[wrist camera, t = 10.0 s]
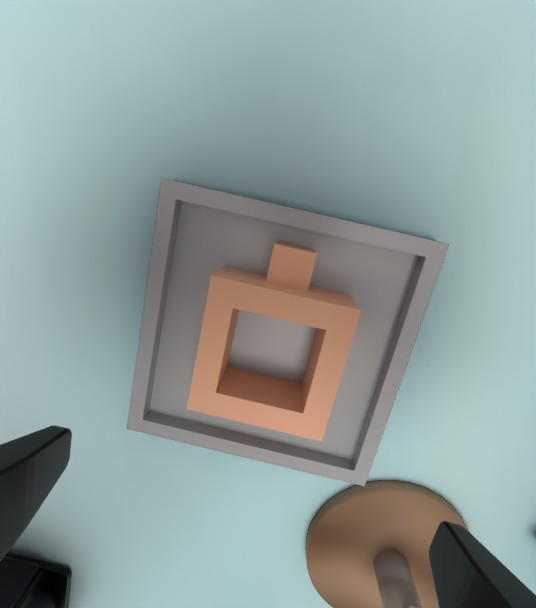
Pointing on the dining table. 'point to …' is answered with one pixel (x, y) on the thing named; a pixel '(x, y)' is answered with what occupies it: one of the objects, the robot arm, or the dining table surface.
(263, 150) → the dining table surface
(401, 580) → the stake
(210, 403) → the ring
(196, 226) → the tray
